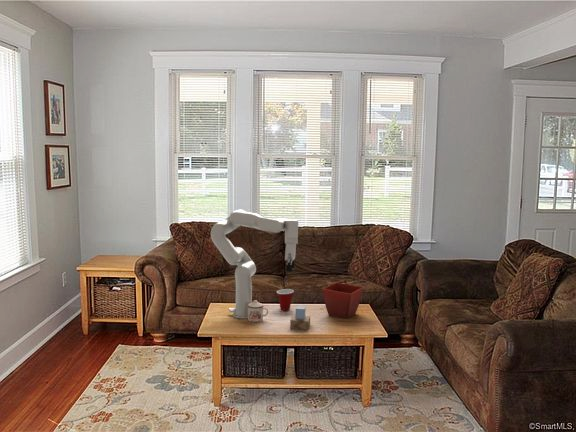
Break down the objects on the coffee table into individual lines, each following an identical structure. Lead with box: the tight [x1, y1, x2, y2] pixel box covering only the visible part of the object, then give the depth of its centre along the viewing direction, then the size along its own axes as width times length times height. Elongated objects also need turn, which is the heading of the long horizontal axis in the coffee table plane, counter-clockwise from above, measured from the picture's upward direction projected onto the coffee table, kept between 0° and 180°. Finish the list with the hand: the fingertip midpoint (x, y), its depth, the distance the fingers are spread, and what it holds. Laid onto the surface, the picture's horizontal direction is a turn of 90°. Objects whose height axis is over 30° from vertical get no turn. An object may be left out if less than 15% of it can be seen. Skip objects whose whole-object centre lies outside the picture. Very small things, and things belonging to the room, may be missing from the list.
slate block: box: [294, 305, 307, 320], centre depth 303 cm, size 5×5×6 cm
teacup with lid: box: [247, 299, 269, 323], centre depth 314 cm, size 12×9×12 cm
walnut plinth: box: [289, 314, 311, 331], centre depth 304 cm, size 10×10×5 cm
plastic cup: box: [276, 288, 294, 311], centre depth 337 cm, size 11×11×12 cm
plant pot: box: [321, 282, 364, 319], centre depth 328 cm, size 19×19×17 cm
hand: (290, 269), depth 312 cm, fingers open, 9 cm apart
